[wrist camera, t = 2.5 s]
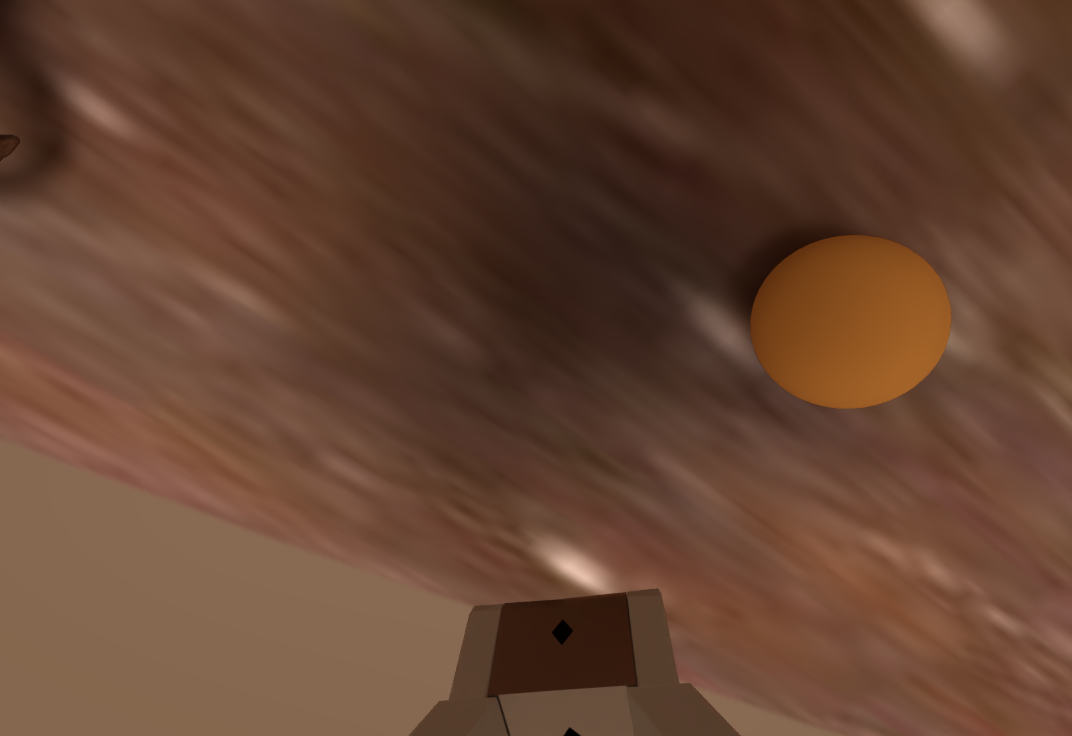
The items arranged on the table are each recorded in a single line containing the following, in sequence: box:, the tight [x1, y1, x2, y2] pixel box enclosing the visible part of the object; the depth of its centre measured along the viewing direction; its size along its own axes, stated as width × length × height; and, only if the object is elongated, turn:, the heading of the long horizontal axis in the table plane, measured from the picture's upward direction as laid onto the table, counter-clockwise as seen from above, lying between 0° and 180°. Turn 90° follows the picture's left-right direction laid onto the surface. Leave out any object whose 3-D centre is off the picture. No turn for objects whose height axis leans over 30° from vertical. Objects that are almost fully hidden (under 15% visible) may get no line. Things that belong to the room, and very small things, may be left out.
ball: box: [750, 235, 951, 409], centre depth 18 cm, size 6×6×6 cm
